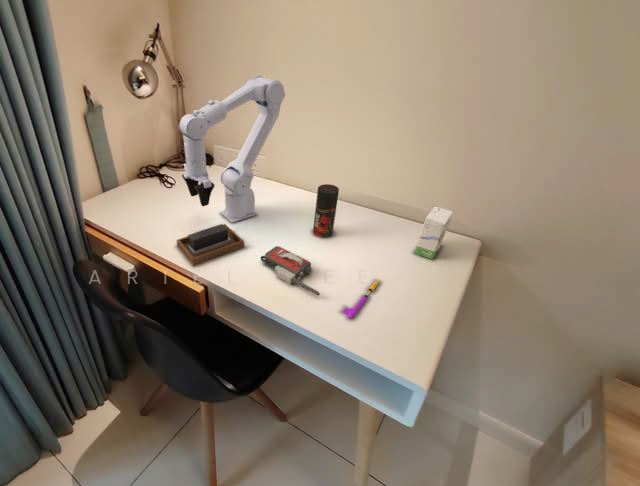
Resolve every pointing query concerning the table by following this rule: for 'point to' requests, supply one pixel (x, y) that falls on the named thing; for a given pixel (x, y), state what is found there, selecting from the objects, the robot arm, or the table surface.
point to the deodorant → (325, 210)
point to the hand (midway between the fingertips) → (199, 200)
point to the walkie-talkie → (288, 266)
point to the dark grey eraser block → (208, 239)
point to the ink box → (433, 232)
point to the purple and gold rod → (359, 303)
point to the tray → (213, 253)
